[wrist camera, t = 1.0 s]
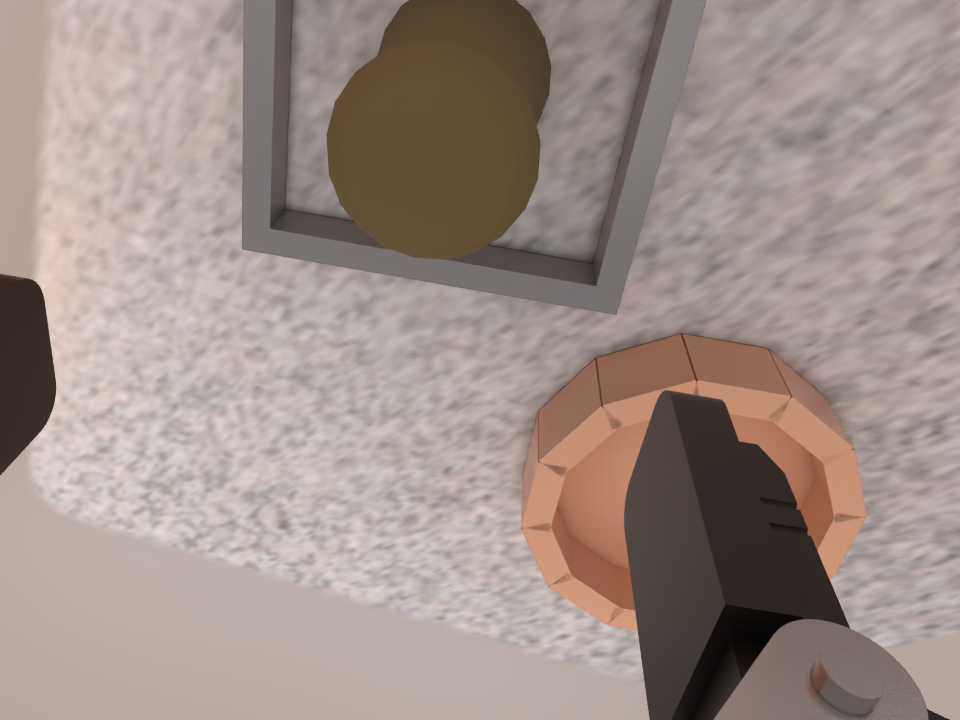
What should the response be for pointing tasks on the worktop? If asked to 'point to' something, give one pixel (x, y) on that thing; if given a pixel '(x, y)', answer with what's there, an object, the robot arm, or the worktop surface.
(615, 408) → the bowl
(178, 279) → the worktop surface
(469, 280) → the rectangular frame
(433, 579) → the worktop surface
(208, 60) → the worktop surface
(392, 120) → the olive pestle
